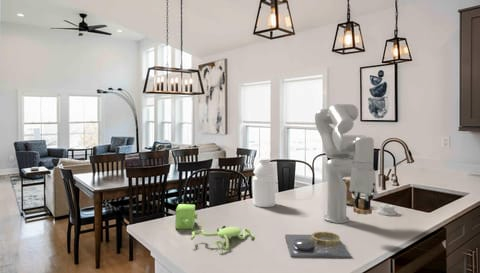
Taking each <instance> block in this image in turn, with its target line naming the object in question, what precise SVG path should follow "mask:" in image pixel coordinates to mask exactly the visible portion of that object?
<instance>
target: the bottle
mask: <svg viewBox="0 0 480 273" xmlns="http://www.w3.org/2000/svg"><path fill="white" fill-rule="evenodd" d="M270 160H271V159H270V158H265V157H263V158H259V159H258V164H256V165H255V167H254V169H253V171H252V172H253V174H254V176H253V177H252V204H253V206H254V207H259V208H270V207H274V206H276V202H277V201H276V190H277V189H276V185H277V184H276V182H277V181H276V179H277V178H276V177H275V174H276V170H275V168H274V166H273V165H272V163H270V162H271V161H270Z"/></svg>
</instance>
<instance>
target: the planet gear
mask: <svg viewBox="0 0 480 273" xmlns="http://www.w3.org/2000/svg"><path fill="white" fill-rule="evenodd" d="M365 200H366V198H364V197H363V198H362V197H360V198H359V199H358V208H356V206H353V208H352V211H353V213H355V214H357V215H360V214H361V215H372V213H373V208H371V207H370V209H368V210H365V209H364V201H365Z"/></svg>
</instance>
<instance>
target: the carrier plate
mask: <svg viewBox="0 0 480 273" xmlns="http://www.w3.org/2000/svg"><path fill="white" fill-rule="evenodd" d="M284 239H285V242H286V246H287V248H288V249H287V250H288V253H289V256H290V258H291V257H293V258H351V253H350V252H349V249H347V248H346V246H345V244H344V243H343V242H342V241H341V238H340V236H339V234H336V233H334V232H330V231H317V232H313V233H311V234H286V233H285V235H284Z"/></svg>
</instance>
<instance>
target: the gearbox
mask: <svg viewBox="0 0 480 273" xmlns="http://www.w3.org/2000/svg"><path fill="white" fill-rule="evenodd" d="M198 216H199V215H198V213H196V204H191V203H190V204H189V203H187V204H186V203H180V204H178V205H177V206H176V209H175V229H178V230H187V229H188V230H189V229H192V230H193V229H194V226H195V221H196V220H198ZM195 219H196V220H195Z"/></svg>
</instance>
